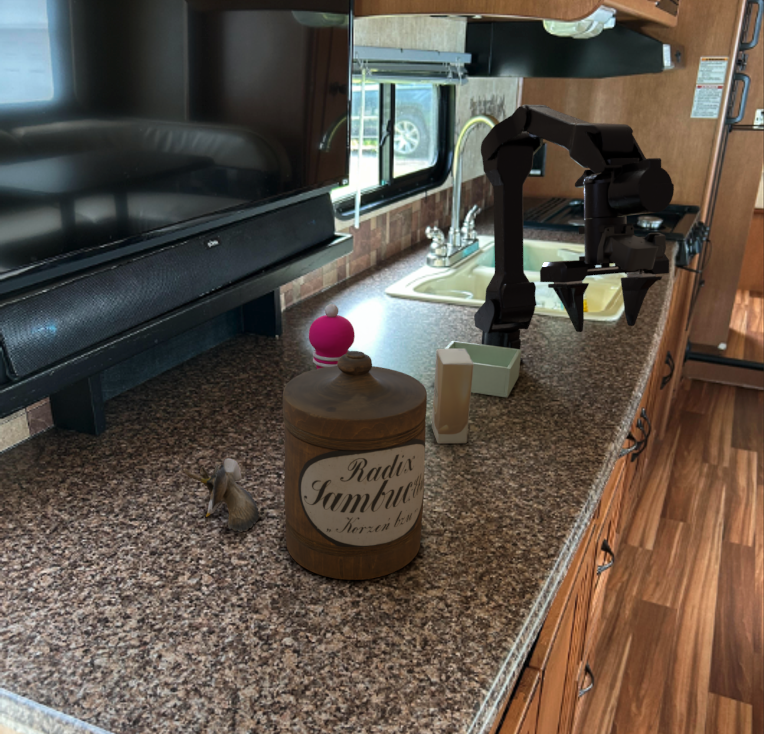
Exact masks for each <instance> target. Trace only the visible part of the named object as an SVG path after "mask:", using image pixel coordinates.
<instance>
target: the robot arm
mask: <svg viewBox="0 0 764 734" xmlns="http://www.w3.org/2000/svg"><path fill="white" fill-rule="evenodd" d="M633 133H634V130H633V129H632V127H631V126H630V125H629V124H626V123H607V122H604V123H603V122H589V121H586V120H583V119H580V118H578V117H575V116H572V115H570V114H566V113H564V112H560V111H559V110H555V109H553V108H551V107H550V106H547V105H546V104H522V105H521V106H518V107H517V108H516V109H515V110H514V112H513V113H512V114H511V115H510V116H508V117H506V118H504V119H503V120H501V121H499V122H498V123H497V124H495V125H493V127H492V128H491V129H490V131H489V132H488V133H487V134H486V135H485V137H484V138H482V139H483V140H482V141H481V144H480V155H481V158H482V159H481V161H482V168H483V173H484V175H485V176H486V177H487V179H488V182H490V185H491V186H492V191H493V195H492V196H493V243H494V244H493V247H494V248H493V249H494V251H493V252H494V254H493V255H494V274H493V276H492V278H491V279H490V281H489V283H488V284H487V287H486V288H485V298H484V302H483V304H481V306H480V307H479V308H478V310H476V312H475V313H474V314H473V319H474V320H473V321H474V327H475V328H477V329H479V330H480V331H481V343H480V344H482V345H490V346H497V347H505V348H513V349H520V350H521V343H522V339H521V338H520V337H521V330H529V328H530V326H531V322H532V319H533V317H534V314H535V310H536V307H537V300H536V292H537V291H536V290H537V286H536V284H535V282H534V281H530V280H529V279H528V278H529V277H527V275H526V273H525V270H524V268H525V267H524V266H525V265H524V262H525V261H524V260H525V259H524V184H525V183H526V180H527V179H528V176H529V175H530V173H531V171H532V169H533V164H534V155H535V154H536V153H537V152H538V151H539V150H540V149H541V148H542V147H543V145H544V140H545V141H547V142H550V143H552V144H555V145H556V146H560V147H562V148H564V149H566V150H567V152H568V154H569V158H570V159H572V160H573V161H574V162H575V163H577V165H579V166H580V167H581V168H584V171H583V173H582V175H581V176H580V177H578V178H577V180H576V181H575V183H574V188H576V189H577V188H578V189H579V188H583V202H584V203H583V219H584V220H583V221H584V222H583V226H579V227H578V235H584V237H583V239H584V244H583V245H584V255H581V256H578V260H572V259H571V260H556V261H544V262H543V264H542V266H541V268H540V270H539V280H540V281H539V283H547V288H549V289H553V290H554V293H555V294H556V296H557V297H558V299H559V301H560V302H561V304H562V306H563V307H564V309H565V311H566V313H567V316H568V317H569V320H570V322H571V324H572V326H573V328H574V331H575V332H577V333H582V332H583V331H584V324H585V311H584V309H585V307H584V306H585V305H584V304H585V302H584V295H585V294H586V291H587V289H588V287H589V285H590V283H589V282H583V281H585V279H586V278H587V277H593V276H603V275H616V274H625V275H626V276H625V277H620V286H621V291H622V292H621V293H622V302H623V307H624V315H625V320H626V325H627V326H628V327H634V326H635V325H636V323H637V319H638V317H639V314H640V312H641V308H642V305H643V303H644V300H645V298H646V295H647V294H648V291H649V289H650V288H651V287H653V285H654V284H655V283H657V282H658V281H661V280H662V279H663V274H670V259H669V258H668V257H667V255H666V251H667V242H666V241H667V240H666V235H665V234H664V233H661V232H650V233H647V235H646V236H637V235H635V227H634V225H633V223H632V222H631V223H627V216H635V215H646V214H655V213H661V212H663V211H664V210H665V209H667V208H668V206H670V204H671V201H672V200H673V197H674V191H675V188H674V187H675V185H674V183H673V180H672V178H671V176H670V174H669V173H668V171H667V170H665V169H664V168H663V167H662V158H660V157H651V158H650V157H649V158H648V157H646V156H645V154H644V153H643V151H642V149H641V147H640V145H639V143H638V141H637V140H636V138H635V136H634V135H633ZM611 264H614V265H611ZM658 275H659V276H658ZM523 361H524V358H523V357H521V358H520V363H521V362H523Z"/></svg>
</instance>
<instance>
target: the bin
mask: <svg viewBox="0 0 764 734" xmlns="http://www.w3.org/2000/svg"><path fill="white" fill-rule="evenodd" d="M444 349H466V351H467V352H468V354H469V356H470V358H471V360H472V362H473V376H472V387H471V393H473V394H474V393H475V394H481V395H489V396H493V397H502V398H506V399H507V398H509V396H510V394H511V392H512V390H513V388H514V386H515V384H516V382H517V381H518V379H519V376H520V367H521V362H520V358H522V349H521V348H520V349H513V348H505V347H497V346H490V345H482V344H481V343H473V342H465V341H458V340H451V341H449V343H448V345H447V346H446V347H445V348H444Z"/></svg>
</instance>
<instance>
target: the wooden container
mask: <svg viewBox="0 0 764 734" xmlns="http://www.w3.org/2000/svg"><path fill="white" fill-rule="evenodd" d="M427 392H428V391H427V388H426V387H425V386H424V384H423V383H422V382H421V381H419V380H418V379H417V378H415V377H413V376H411V375H409V374H407V373H405V372H402V371H398V370H395V369H391V368H387V367H381V366H375V365H373V362H372V358H371V356H369V355H368V354H366V353H365V352H363V351H359V350H349V352H347V353H346V354H344V355H342V356H341V357H340V358H339V360H338V363H337V366H331V367H324V368H319V369H312V370H308V371H305V372H302V373H301V374H298V375H297V376H294V377H293V378H292V379H291V380H289V381H288V382H287V383H286V384H285V386H284V388H283V392H282V414H283V415H282V418H283V423H284V424H283V425H284V428H283V430H284V432H283V433H284V474H283V475H284V482H283V483H284V485H283V486H284V487H283V491H284V493H283V495H284V497H283V499H284V514H285V520H284V521H285V523H284V524H285V543H286V549H287V551H288V553H289V555H290V557H291V558H292V559H293V561H295V562H296V563H297V564H298V565H300V566H301V567H303V568H304V569H305V570H308V571H310V572H312V573H314V574H317V575H320V576H323V577H327V578H331V579H337V580H346V581H348V580H349V581H358V580H359V581H360V580H370V579H374V578H379V577H384V576H388V575H390V574H393V573H395V572H397V571H399V570H401V569H402V568H404V567H406V566H407V565H409V564H410V563H411V562H412V561H413V560H414V558H416V557H417V554H418V553H419V550H420V548H421V543H422V542H421V540H422V528H423V527H422V526H423V514H424V513H423V512H424V501H425V500H424V499H425V498H424V497H425V496H424V495H425V474H426V473H425V472H426V471H425V467H426V465H425V463H426V462H425V461H426V437H427V436H426V434H427V433H426V432H427V430H426V429H427V424H426V420H427V406H428V393H427Z"/></svg>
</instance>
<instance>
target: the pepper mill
mask: <svg viewBox="0 0 764 734" xmlns="http://www.w3.org/2000/svg"><path fill="white" fill-rule="evenodd" d="M355 337H356V336H355V329H354V326H353V324H352V323H351V321H350V320H349V319H348V318H346V317H344V316H342V315H339V307H338V306H337V305H336V304H334V303H329V304H327V305H326V306H325V308H324V315H321V316H319V317H317V318H316V319H315V320H313V322H312V323H311V324H310V326H309V329H308V340H309V343H310V345H311V347H312V348H313V349H314V350H313V351H312V356H313V358H312V362H313V364H314V365H315V366H316V367H315V368H316V369H319V368H324V367H331V366H337V363H338V360H339V358H340V357H341V356H342V355H344V354H346V353H347V352H349V351H350V348H351V347H352V346H353V344H354V342H355Z"/></svg>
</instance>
